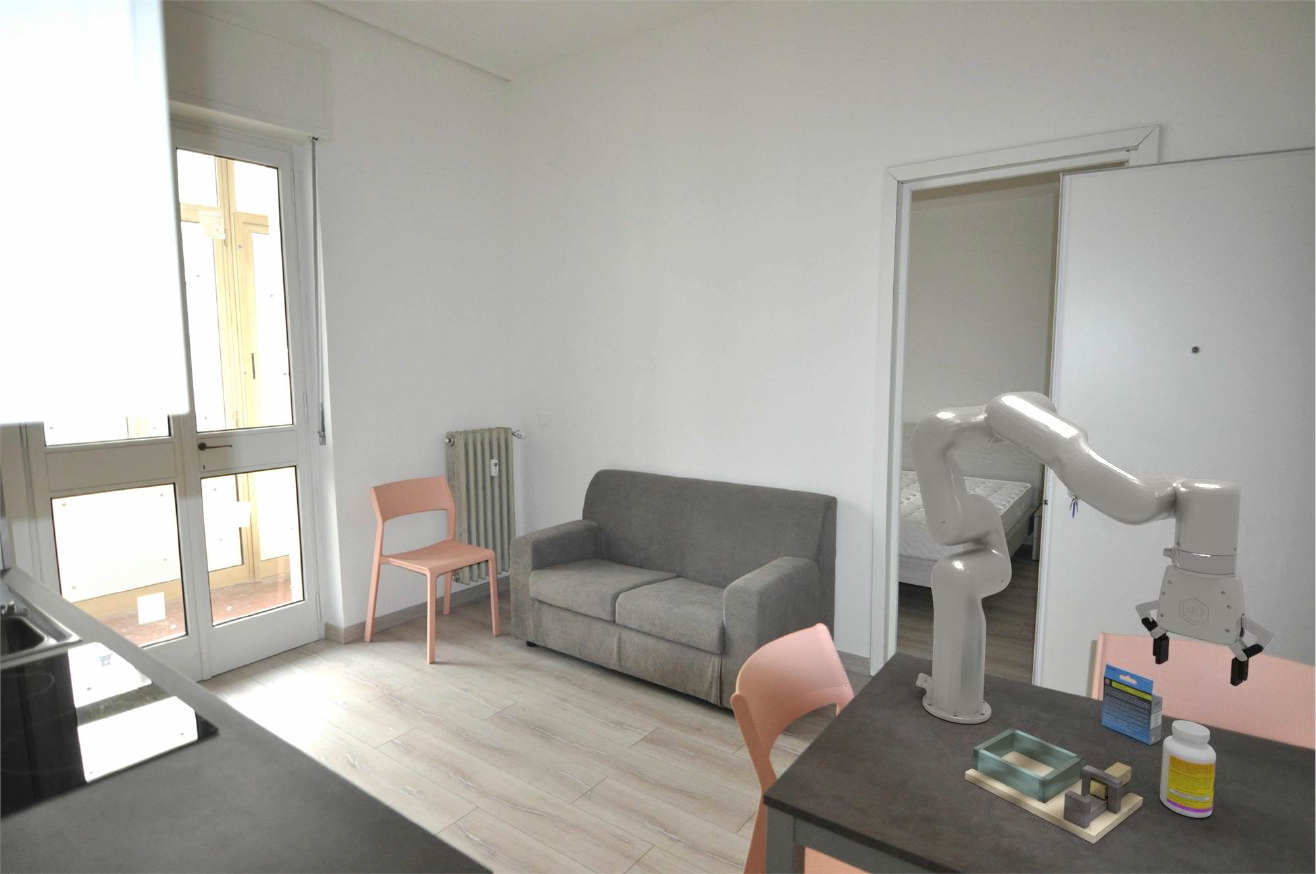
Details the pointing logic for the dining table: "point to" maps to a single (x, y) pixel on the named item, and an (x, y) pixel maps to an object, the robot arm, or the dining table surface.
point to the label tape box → (1131, 705)
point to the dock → (1051, 784)
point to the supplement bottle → (1188, 770)
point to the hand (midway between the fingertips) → (1197, 672)
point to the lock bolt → (1115, 770)
